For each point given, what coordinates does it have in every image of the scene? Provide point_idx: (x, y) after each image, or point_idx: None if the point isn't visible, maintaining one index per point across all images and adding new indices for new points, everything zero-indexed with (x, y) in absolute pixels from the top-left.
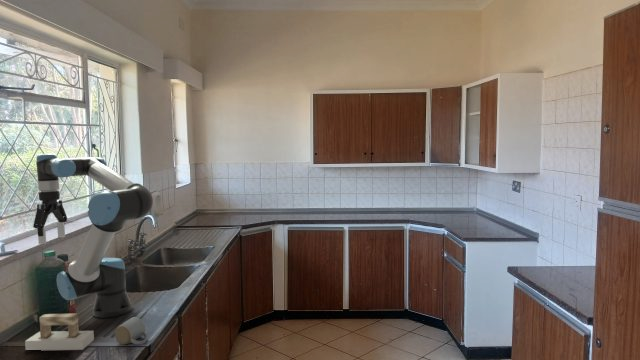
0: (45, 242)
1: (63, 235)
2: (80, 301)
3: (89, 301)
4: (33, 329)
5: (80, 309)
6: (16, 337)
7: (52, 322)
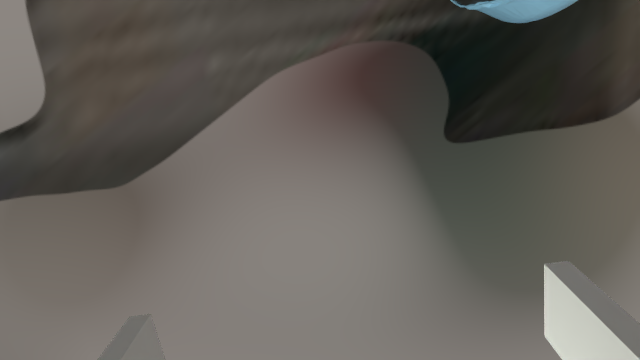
0: (571, 271)
1: (143, 335)
2: (193, 137)
3: (185, 96)
4: (500, 105)
5: (281, 67)
6: (574, 111)
7: None
